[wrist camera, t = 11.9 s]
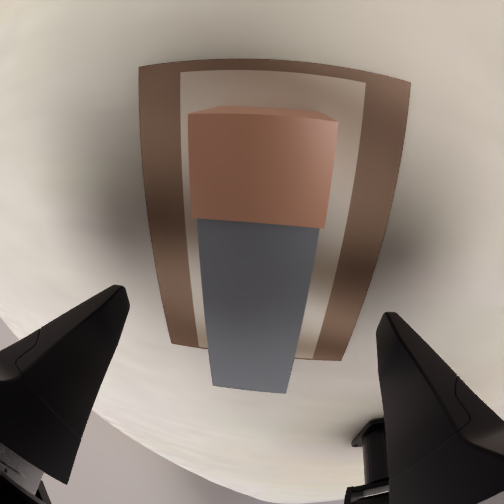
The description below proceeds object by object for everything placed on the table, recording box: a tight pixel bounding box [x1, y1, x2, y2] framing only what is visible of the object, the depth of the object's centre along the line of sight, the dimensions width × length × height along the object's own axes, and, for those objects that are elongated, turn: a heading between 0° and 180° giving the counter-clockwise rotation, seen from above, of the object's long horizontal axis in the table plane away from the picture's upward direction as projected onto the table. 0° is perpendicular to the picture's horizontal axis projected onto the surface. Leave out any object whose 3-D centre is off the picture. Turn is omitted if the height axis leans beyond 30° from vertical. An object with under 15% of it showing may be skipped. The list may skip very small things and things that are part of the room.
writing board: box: [139, 59, 411, 361], centre depth 13 cm, size 16×11×1 cm
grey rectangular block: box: [188, 106, 338, 394], centre depth 11 cm, size 12×4×4 cm, turn 178°
